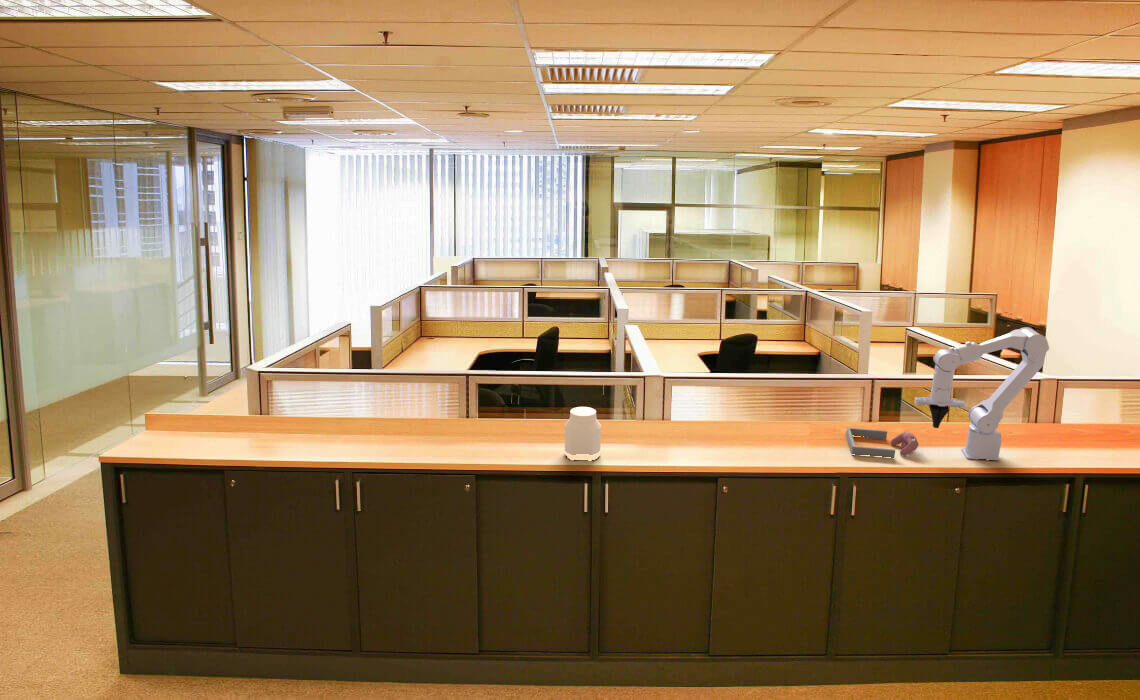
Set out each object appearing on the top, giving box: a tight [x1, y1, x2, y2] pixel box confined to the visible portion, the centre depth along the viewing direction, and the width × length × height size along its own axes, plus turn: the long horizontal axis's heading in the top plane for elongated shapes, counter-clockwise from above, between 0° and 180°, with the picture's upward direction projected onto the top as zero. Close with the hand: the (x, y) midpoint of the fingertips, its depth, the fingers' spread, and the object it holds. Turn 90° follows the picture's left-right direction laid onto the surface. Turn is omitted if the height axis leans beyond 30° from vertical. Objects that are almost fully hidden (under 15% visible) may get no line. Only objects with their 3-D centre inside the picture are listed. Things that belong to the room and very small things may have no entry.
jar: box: [564, 406, 602, 455], centre depth 259 cm, size 12×10×15 cm
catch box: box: [845, 426, 896, 459], centre depth 269 cm, size 13×17×3 cm
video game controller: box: [890, 431, 919, 456], centre depth 267 cm, size 10×5×7 cm, turn 179°
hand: (935, 426), depth 264 cm, fingers closed
